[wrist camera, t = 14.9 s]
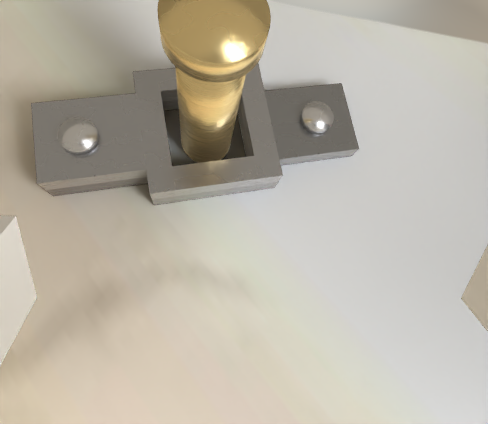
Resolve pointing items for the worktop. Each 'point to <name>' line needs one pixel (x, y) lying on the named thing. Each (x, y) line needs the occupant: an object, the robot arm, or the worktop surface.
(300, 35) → the worktop surface
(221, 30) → the brass pin
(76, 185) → the grey flange mount bracket
